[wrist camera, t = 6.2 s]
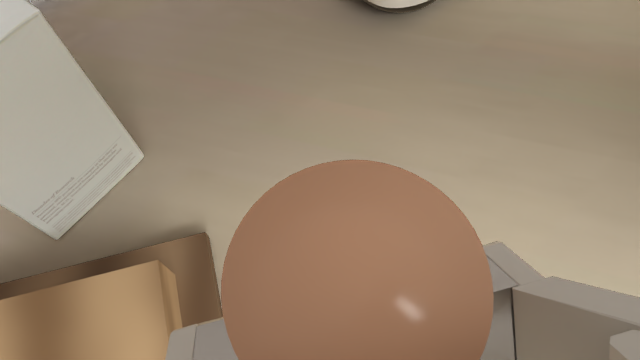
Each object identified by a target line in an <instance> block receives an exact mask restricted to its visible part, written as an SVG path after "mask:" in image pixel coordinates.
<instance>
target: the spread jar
mask: <svg viewBox="0 0 640 360" xmlns="http://www.w3.org/2000/svg"><path fill="white" fill-rule="evenodd" d="M363 1H365V2H366V3H368V4H369V5H371V6H373V7H375V8H377V9H380V10H383V11H386V12H394V13H405V12H412V11H416V10H419V9H422V8H424V7H426V6H428V5H430V4H432V3H433V2H435V1H436V0H363Z"/></svg>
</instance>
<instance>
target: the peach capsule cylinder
mask: <svg viewBox="0 0 640 360" xmlns="http://www.w3.org/2000/svg"><path fill="white" fill-rule="evenodd" d="M493 300H494V295H493V284H492V277H491V272H490V267H489V263H488V260H487V257H486V254H485V251H484V248H483V246H482V244H481V242H480V240H479V238H478V236H477V234H476V232H475V230H474V228H473V227H472V225H471V224H470V222H469V221H468V219H467V218H466V216H465V215H464V214H463V213H462V211H461V210H460V209H459V208H458V207H457V206H456V204H455V203H454V202H453V201H452V200H450V199H449V198H448V197H447V196H446V195H445V194H444V193H443V192H442V191H440V190H439V189H438V188H436V187H435V186H434V185H432V184H431V183H429V182H428V181H426V180H424V179H423V178H421V177H419V176H417V175H415V174H413V173H411V172H409V171H406V170H404V169H401V168H399V167H396V166H392V165H389V164H385V163H380V162H374V161H368V160H340V161H332V162H327V163H322V164H318V165H315V166H312V167H309V168H306V169H303V170H301V171H299V172H297V173H294V174H292V175H290V176H289V177H287V178H285V179H284V180H282V181H280V182H279V183H277V184H276V185H275V186H273V187H272V188H271V189H270V190H268V191H267V192H266V193H265V194H264V195H263V196H262V197H261V198H260V199H259V200H258V201H257V202H256V203H255V204H254V205H253V206H252V207H251V209H250V210H249V211H248V212H247V214H246V215H245V216H244V218H243V219H242V221H241V223H240V225H239V226H238V228H237V230H236V231H235V234H234V236H233V238H232V240H231V243H230V245H229V248H228V251H227V255H226V258H225V262H224V267H223V273H222V280H221V302H222V311H223V318H224V322H225V326H226V330H227V334H228V337H229V339H230V342H231V344H232V347H233V349H234V352H235V354H236V355H237V357H238V359H239V360H479V359H480V357H481V355H482V353H483V351H484V349H485V345H486V342H487V339H488V336H489V333H490V328H491V322H492V317H493Z"/></svg>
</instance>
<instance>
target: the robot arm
mask: <svg viewBox="0 0 640 360" xmlns="http://www.w3.org/2000/svg"><path fill="white" fill-rule="evenodd" d="M483 248H484V251H485V254H486V257H487V260H488V263H489V267H490V272H491V277H492V284H493V295H494V300H493V317H492V322H491V328H490V333H489V336H488V339H487V342H486V345H485V349H484V351H483V353H482V355H481V357H480V359H479V360H640V298H639V297H635V296H631V295H627V294H623V293H619V292H615V291H611V290H606V289H602V288H598V287H594V286H590V285H586V284H582V283H578V282H574V281H570V280H566V279H562V278H558V277H553V276H552V277H548V278H545V277H543V276H542V275H541V274H540V273H538V272H537V271H536V270H535V269H534V268H532V267H531V266H530V265H529V264H528V263H526V262H525V261H524V260H523V259H521V258H520V257H519V256H518V255H517V254H515V253H514V252H513V251H512V250H511V249H509V248H508V247H507V246H506V245H504V244H503V243H502V242H498V241H496V242H493V243H489V244H486V245H483ZM165 360H239V359H238V357H237V355H236V354H235V352H234V349H233V347H232V344H231V342H230V339H229V337H228V334H227V330H226V326H225V322H224V318H223V317H222V318H218V319H214V320H210V321H206V322H202V323H199V324H194V325H190V326H187V327H183V328H180V329H176V330H174V331H173V332H172V333H171V334H170V338H169V343H168V348H167V353H166V358H165Z"/></svg>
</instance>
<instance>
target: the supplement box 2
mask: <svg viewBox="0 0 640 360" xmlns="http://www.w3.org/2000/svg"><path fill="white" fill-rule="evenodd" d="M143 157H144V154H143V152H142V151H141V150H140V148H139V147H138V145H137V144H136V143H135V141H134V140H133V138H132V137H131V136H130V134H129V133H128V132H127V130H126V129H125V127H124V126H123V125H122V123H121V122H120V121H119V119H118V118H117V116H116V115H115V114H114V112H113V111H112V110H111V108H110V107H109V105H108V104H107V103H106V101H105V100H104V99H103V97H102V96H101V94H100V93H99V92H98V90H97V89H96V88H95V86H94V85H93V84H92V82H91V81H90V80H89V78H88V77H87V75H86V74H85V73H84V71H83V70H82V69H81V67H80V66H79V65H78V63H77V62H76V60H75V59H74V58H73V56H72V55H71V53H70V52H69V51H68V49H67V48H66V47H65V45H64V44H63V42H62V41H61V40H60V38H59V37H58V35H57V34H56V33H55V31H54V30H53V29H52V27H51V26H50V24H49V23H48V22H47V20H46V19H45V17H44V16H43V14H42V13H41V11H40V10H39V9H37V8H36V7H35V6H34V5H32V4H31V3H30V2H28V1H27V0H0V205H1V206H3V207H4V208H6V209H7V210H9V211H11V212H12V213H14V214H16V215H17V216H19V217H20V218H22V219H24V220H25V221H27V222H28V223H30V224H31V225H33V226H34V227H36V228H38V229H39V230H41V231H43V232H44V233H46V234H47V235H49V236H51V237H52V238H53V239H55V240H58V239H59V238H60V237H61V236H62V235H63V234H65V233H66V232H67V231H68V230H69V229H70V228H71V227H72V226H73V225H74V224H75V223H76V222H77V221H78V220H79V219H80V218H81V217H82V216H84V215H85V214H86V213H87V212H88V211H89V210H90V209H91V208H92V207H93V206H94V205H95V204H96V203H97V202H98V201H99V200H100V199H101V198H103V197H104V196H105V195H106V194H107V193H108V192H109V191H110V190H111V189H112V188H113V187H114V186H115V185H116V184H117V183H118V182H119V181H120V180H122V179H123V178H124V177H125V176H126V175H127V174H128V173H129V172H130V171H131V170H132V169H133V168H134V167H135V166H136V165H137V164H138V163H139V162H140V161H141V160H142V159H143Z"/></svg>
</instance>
